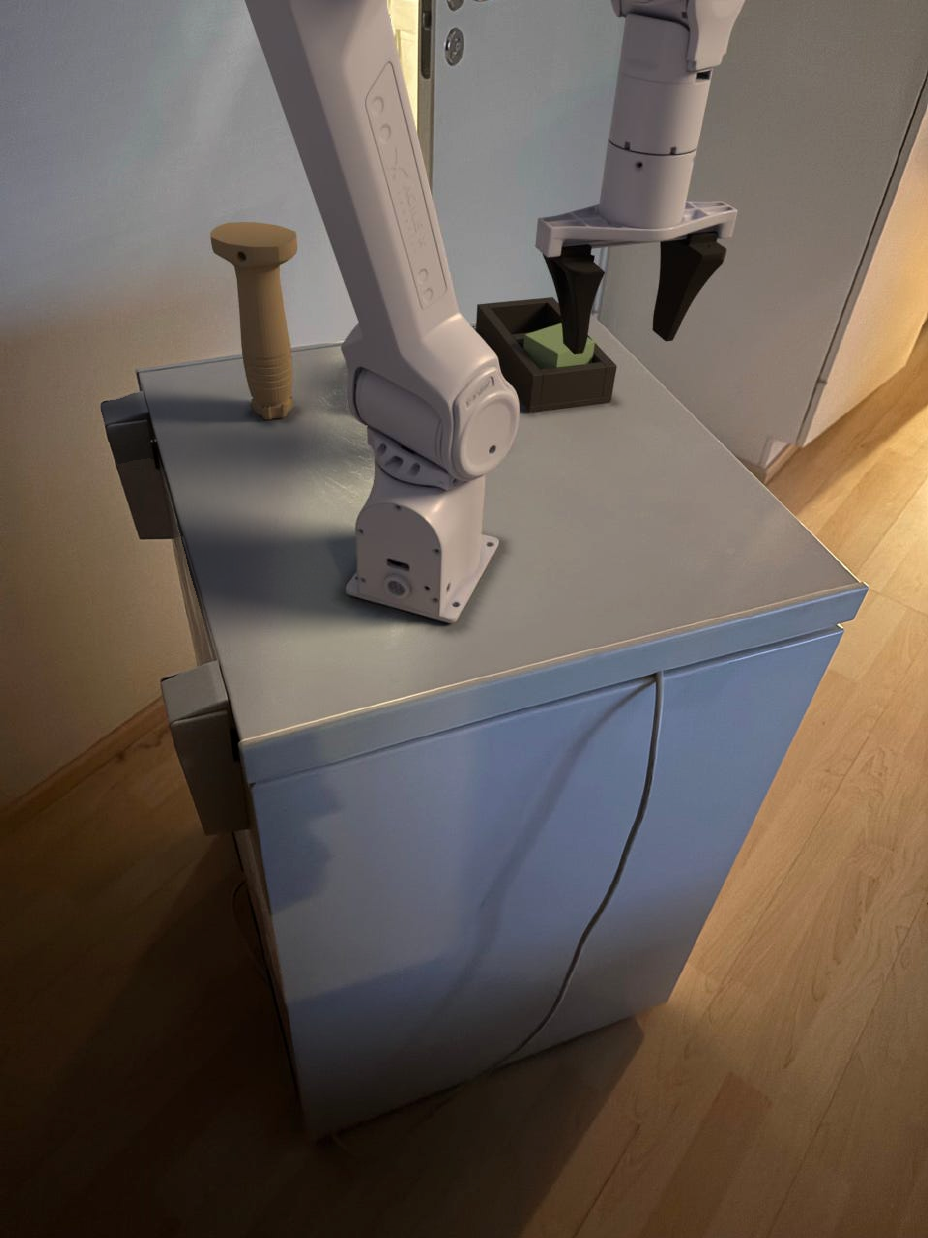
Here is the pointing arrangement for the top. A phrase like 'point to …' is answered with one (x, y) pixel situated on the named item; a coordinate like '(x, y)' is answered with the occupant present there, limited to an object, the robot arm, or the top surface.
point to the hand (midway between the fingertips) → (618, 341)
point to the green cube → (554, 349)
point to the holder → (533, 386)
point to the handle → (261, 308)
